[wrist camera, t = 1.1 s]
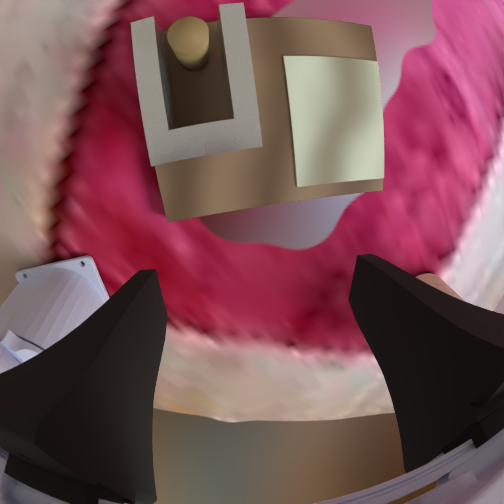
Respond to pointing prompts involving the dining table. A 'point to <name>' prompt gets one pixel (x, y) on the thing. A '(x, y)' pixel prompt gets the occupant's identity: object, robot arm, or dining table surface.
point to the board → (278, 115)
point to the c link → (162, 103)
